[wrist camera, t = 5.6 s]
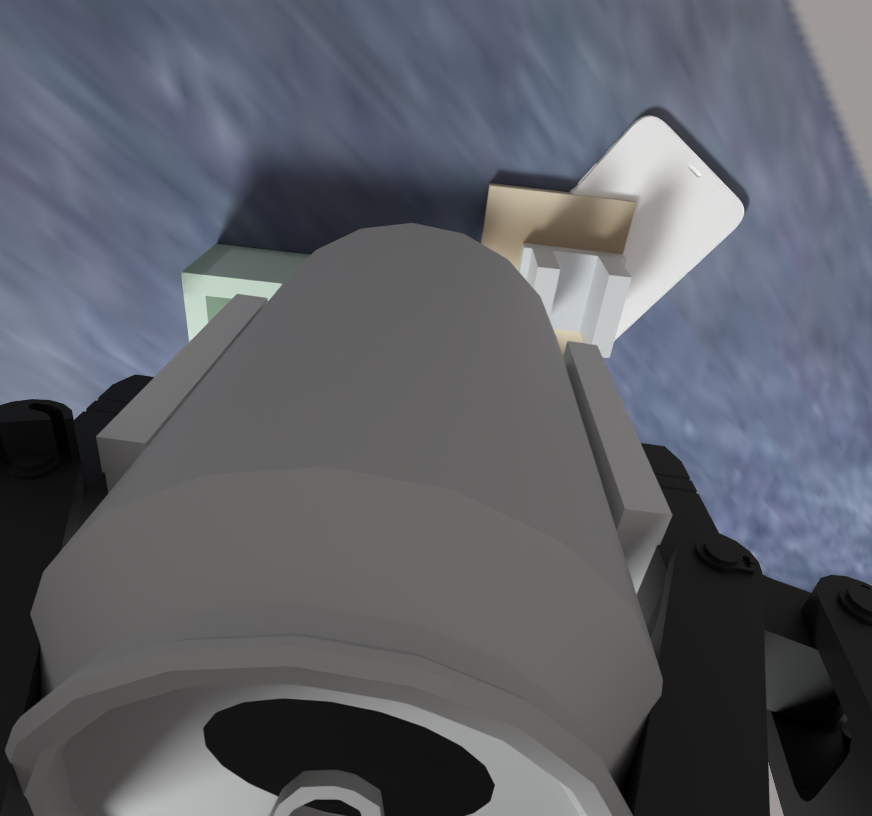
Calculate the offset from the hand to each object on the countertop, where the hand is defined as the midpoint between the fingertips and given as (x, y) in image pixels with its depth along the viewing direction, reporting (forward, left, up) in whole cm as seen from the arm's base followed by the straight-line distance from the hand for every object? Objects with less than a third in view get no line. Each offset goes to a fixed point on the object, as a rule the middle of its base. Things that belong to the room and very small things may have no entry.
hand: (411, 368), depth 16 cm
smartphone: (+3, +8, -18) cm, 19 cm away
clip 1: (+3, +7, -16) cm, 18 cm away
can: (0, 0, -1) cm, 1 cm away
